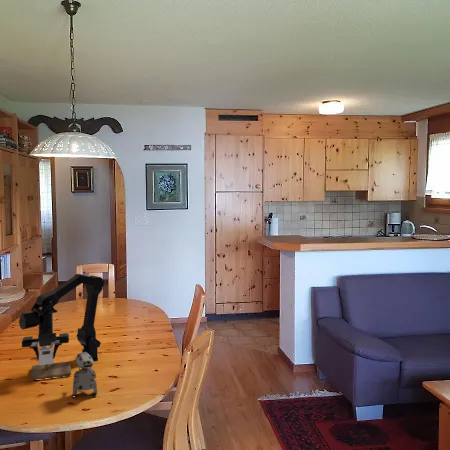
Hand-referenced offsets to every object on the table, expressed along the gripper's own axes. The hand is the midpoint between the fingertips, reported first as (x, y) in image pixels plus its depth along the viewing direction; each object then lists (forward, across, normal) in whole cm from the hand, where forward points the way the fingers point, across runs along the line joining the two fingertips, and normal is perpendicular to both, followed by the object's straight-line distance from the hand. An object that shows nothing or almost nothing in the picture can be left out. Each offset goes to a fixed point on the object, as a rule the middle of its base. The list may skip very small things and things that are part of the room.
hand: (46, 359), depth 189 cm
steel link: (+1, 0, 0) cm, 1 cm away
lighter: (+6, 0, +21) cm, 22 cm away
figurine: (+6, +15, -25) cm, 30 cm away
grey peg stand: (+6, +2, 0) cm, 6 cm away
